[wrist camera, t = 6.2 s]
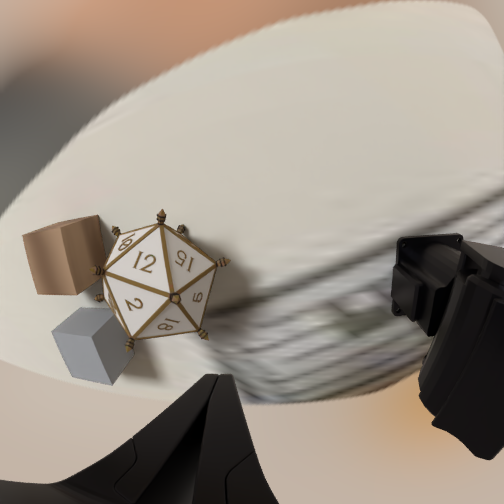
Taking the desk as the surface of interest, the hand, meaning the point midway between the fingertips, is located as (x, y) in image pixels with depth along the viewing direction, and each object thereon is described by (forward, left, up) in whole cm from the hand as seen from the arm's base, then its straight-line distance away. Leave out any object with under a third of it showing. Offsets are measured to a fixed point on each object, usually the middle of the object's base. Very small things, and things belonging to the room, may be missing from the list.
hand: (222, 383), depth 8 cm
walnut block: (+15, -2, -13) cm, 20 cm away
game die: (+6, 0, -13) cm, 15 cm away
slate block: (+15, +7, -13) cm, 21 cm away
